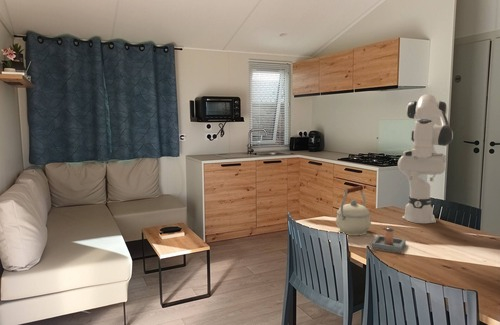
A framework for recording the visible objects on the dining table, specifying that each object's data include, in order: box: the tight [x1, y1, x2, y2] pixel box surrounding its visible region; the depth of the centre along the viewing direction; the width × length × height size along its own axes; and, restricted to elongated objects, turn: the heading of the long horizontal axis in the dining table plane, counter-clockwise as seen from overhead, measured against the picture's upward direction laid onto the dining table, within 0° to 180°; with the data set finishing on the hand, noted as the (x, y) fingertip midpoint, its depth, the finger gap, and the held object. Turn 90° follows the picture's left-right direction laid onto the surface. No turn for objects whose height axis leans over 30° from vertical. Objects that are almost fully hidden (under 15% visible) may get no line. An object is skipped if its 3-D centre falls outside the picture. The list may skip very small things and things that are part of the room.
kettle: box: [335, 185, 372, 237], centre depth 206 cm, size 25×18×25 cm
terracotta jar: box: [384, 227, 395, 246], centre depth 183 cm, size 4×4×8 cm
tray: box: [371, 234, 407, 254], centre depth 183 cm, size 13×13×2 cm
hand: (421, 180), depth 187 cm, fingers open, 8 cm apart
